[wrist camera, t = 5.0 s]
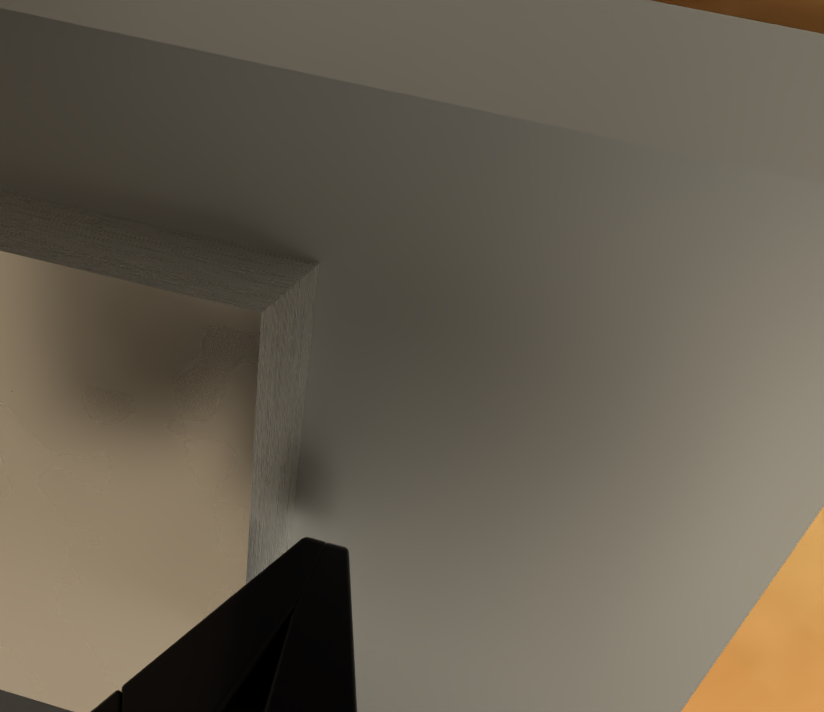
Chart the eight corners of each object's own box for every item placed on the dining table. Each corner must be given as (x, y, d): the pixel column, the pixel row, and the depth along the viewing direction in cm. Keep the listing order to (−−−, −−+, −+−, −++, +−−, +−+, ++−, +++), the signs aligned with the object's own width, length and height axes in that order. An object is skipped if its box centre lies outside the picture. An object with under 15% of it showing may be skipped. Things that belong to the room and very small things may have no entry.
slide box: (1010, 120, 7) (1355, 136, 4) (580, 800, 14) (596, 970, 11) (-307, -144, 8) (-737, -268, 5) (-70, 606, 15) (-197, 716, 12)
